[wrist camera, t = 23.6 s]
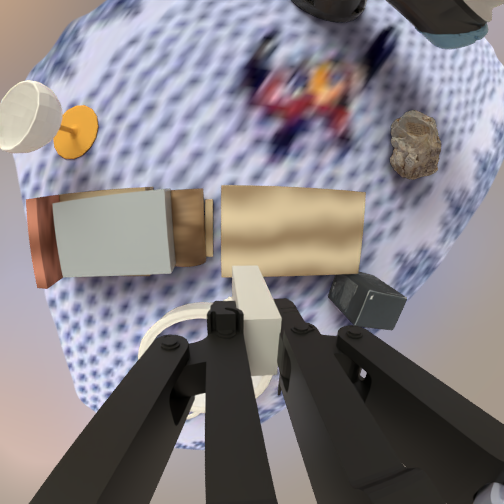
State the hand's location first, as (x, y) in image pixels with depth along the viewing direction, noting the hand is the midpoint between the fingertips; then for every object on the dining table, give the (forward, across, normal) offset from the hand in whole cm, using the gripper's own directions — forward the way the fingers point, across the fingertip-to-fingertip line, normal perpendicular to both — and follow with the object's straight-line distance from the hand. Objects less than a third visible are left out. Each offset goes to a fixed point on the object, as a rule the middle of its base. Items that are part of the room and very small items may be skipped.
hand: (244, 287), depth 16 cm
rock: (+25, +29, +14) cm, 40 cm away
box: (+25, +21, -10) cm, 34 cm away
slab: (+20, -16, 0) cm, 25 cm away
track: (+24, -4, 0) cm, 25 cm away
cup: (+25, -25, +16) cm, 39 cm away
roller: (+22, -4, 0) cm, 23 cm away
